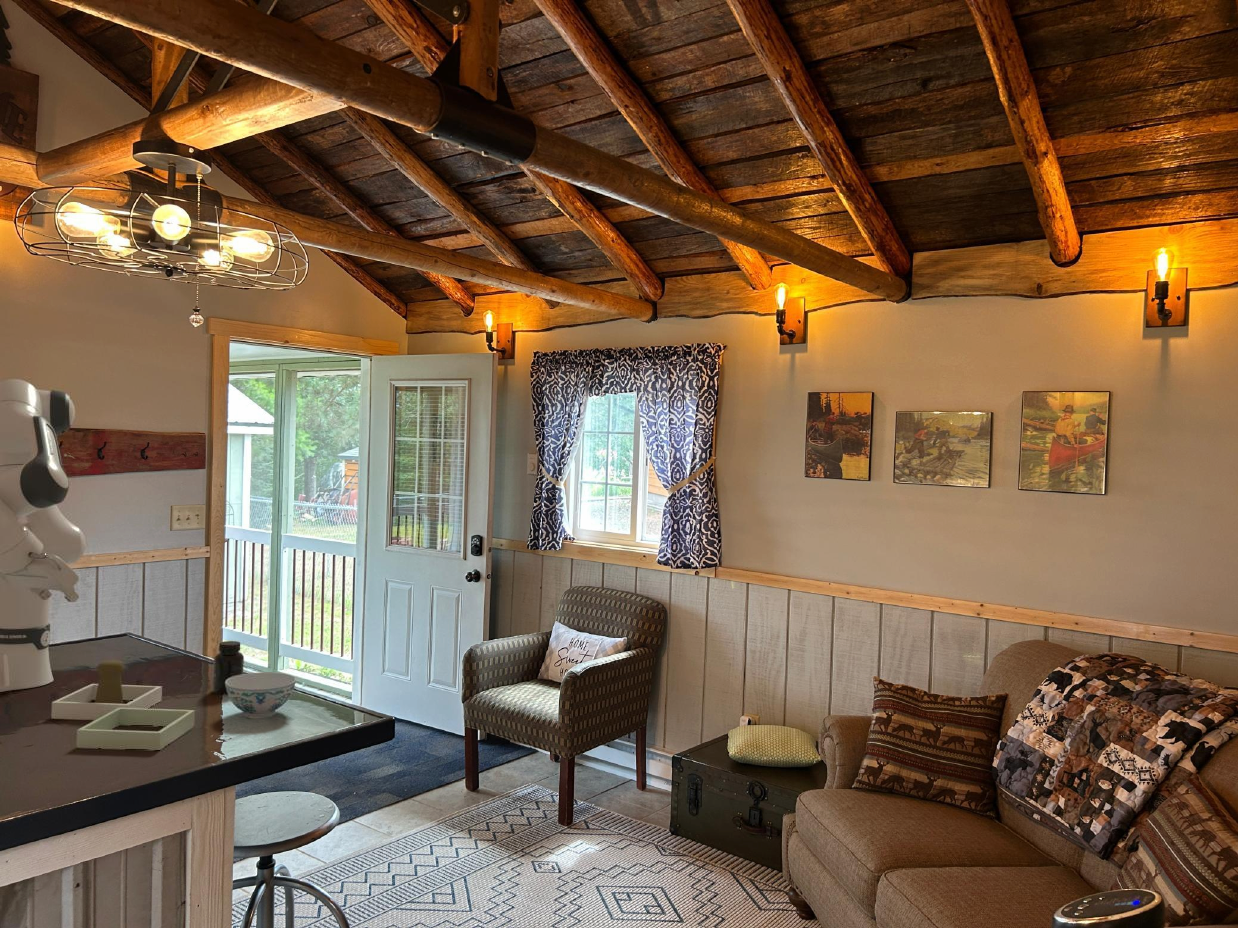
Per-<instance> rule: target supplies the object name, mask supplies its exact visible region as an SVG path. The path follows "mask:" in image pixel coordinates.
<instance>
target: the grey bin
mask: <svg viewBox="0 0 1238 928" xmlns="http://www.w3.org/2000/svg"><path fill="white" fill-rule="evenodd" d="M121 685H122V695H123V700H129V701H128V702H127V703H123V704H112V703H95V702H92V701H95V698H96V693H97V688H98V683H91V684H89V685H86V686H84V687H82V688H80V689H77V690H76V691H73V692H72V693H70V694H67V695H64V696H63V697H61V698H58V699H55V700H54V701H52V702H51V719H53V720H54V719H55V720H77V721H78V720H80V721H81V720H83V721H95V720H97V719H98V718H100V717H102V716H104V715H106V714H108V713H109V712H111V711H113V710H115V709H117V708H145V709H148V708H149V709H151V708H152V707H151V706H153V705H154V706H156V705H157V704H156V703H158V702H160V701H161V702H162V696H163V695H162V694H163V685H161V686H159V685H158V686H157V685H155V686H154V685H133V684H132V685H131V684H121ZM130 700H133V701H130ZM161 702H160V703H161ZM155 704H156V705H155ZM158 704H159V703H158ZM154 706H153V707H154ZM150 707H151V708H150Z"/></svg>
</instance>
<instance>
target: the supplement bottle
mask: <svg viewBox="0 0 1238 928" xmlns="http://www.w3.org/2000/svg"><path fill="white" fill-rule="evenodd" d="M218 646H219V647H218V651H219V652H218V653H216V654H215V656H214V658H213V669H212V670H213V671H212V673H213V674H212V691H213V693H215V694H216V695H228V694H227V691H226V686H225V681H226V680H227V679H229V678H231V677H234V676H237V675H242V674H244V665H245V657H244V654H243V653H241V652H240V651H241V642H240V641H237V640H228V641H227V640H225V641H221V642H219V645H218Z"/></svg>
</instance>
